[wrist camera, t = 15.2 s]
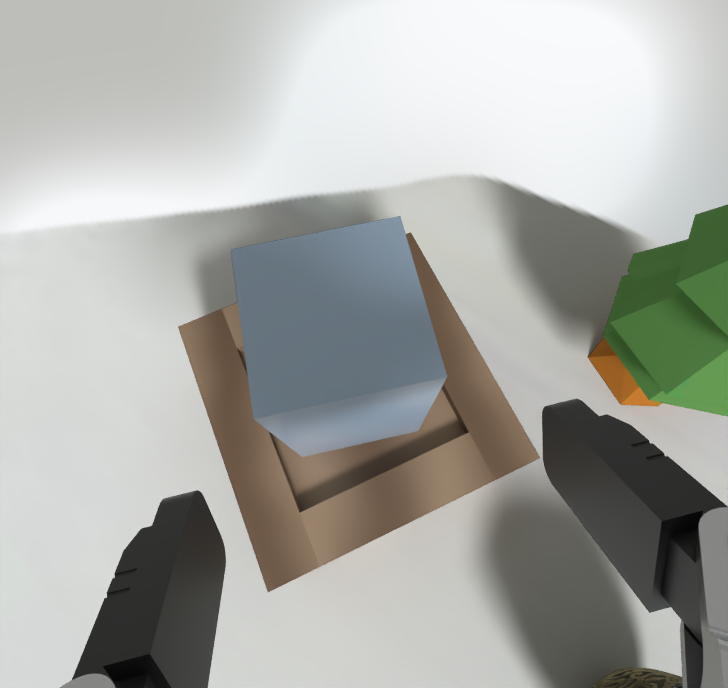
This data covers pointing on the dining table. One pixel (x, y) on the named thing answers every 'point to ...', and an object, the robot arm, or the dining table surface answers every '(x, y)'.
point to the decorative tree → (672, 323)
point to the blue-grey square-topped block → (337, 336)
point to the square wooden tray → (353, 448)
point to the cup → (640, 679)
